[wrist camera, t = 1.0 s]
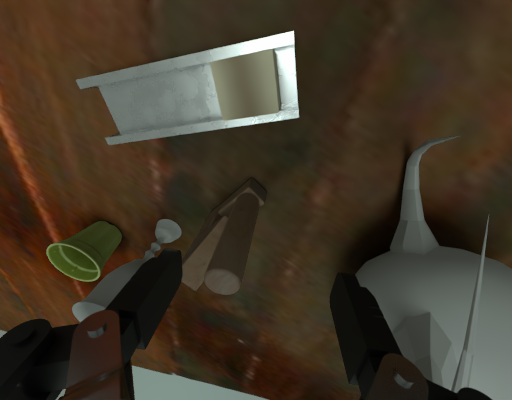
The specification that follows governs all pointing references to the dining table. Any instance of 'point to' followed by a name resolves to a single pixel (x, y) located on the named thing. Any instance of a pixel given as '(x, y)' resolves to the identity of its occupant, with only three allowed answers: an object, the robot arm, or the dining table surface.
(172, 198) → the dining table surface
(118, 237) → the plant pot
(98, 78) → the chute
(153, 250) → the chalice
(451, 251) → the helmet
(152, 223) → the dining table surface
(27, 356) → the robot arm
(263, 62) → the block
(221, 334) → the dining table surface
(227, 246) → the wooden block
